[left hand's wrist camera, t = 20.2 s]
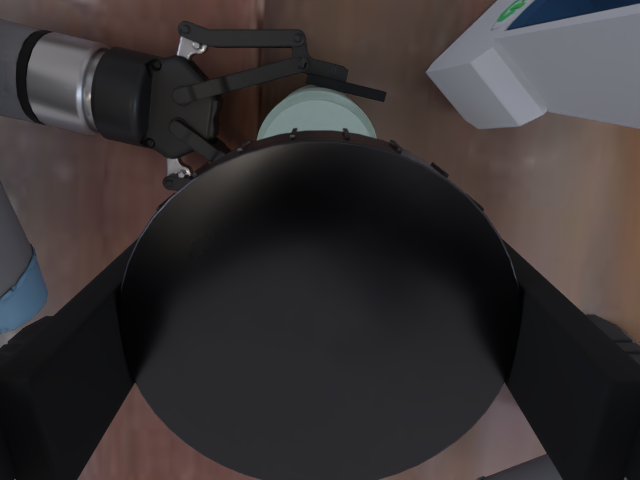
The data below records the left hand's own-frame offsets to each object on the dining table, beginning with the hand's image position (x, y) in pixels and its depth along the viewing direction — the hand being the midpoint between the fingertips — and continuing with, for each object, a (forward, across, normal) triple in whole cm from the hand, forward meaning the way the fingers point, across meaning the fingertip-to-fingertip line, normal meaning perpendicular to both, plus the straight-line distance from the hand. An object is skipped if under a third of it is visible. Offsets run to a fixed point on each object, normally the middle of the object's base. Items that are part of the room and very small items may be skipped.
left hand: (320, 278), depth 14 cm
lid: (-3, 0, 0) cm, 3 cm away
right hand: (+26, -4, +1) cm, 27 cm away
